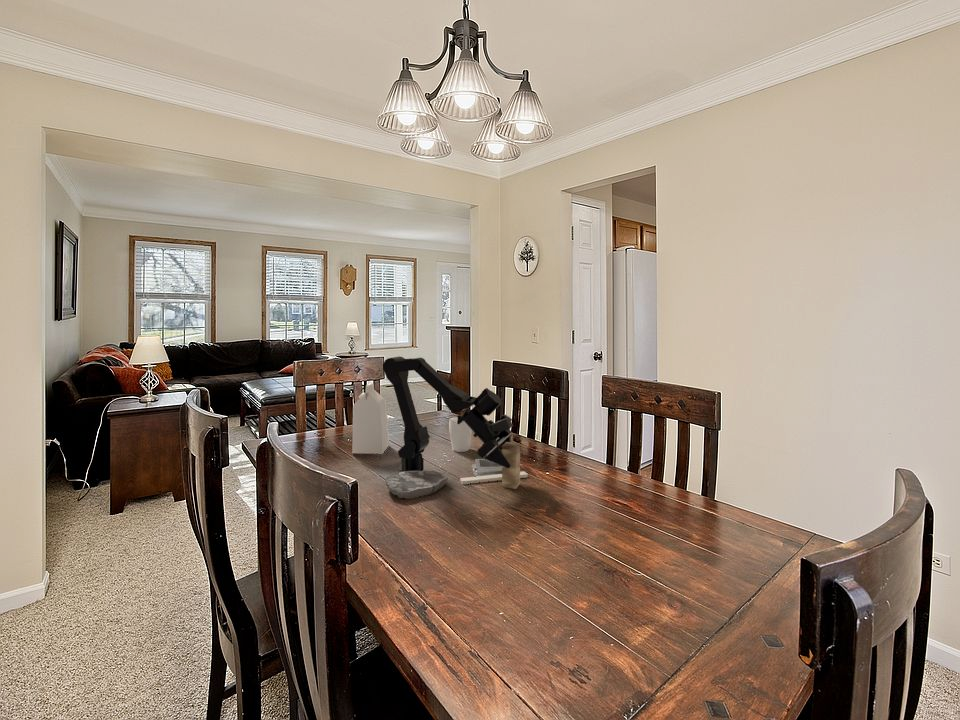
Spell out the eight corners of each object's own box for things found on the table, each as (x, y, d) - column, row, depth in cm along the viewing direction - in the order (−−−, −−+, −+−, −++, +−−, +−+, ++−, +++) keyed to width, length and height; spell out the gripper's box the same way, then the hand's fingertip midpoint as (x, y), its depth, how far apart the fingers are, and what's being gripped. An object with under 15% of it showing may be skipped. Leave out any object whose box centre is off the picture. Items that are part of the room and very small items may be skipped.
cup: (462, 454, 185) (462, 423, 183) (444, 450, 190) (444, 419, 189) (476, 448, 192) (476, 418, 191) (459, 445, 197) (459, 415, 196)
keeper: (474, 476, 160) (474, 468, 160) (472, 465, 171) (472, 458, 171) (510, 475, 161) (510, 467, 161) (506, 465, 172) (506, 457, 172)
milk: (382, 455, 184) (381, 386, 181) (352, 454, 184) (350, 386, 182) (389, 446, 196) (387, 381, 193) (360, 446, 196) (358, 381, 194)
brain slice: (417, 474, 163) (417, 466, 162) (455, 486, 152) (455, 477, 152) (370, 491, 147) (369, 482, 147) (408, 506, 137) (408, 495, 136)
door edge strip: (462, 484, 153) (462, 481, 153) (459, 481, 156) (459, 478, 156) (527, 477, 159) (527, 474, 159) (524, 474, 162) (524, 471, 162)
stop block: (501, 487, 151) (501, 445, 149) (506, 482, 155) (506, 441, 154) (516, 488, 149) (516, 447, 148) (520, 483, 153) (520, 443, 152)
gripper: (487, 414, 142) (524, 454, 140) (505, 402, 160) (538, 438, 157) (462, 438, 146) (497, 478, 143) (482, 424, 163) (514, 460, 161)
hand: (513, 462), depth 151 cm, fingers open, 9 cm apart
